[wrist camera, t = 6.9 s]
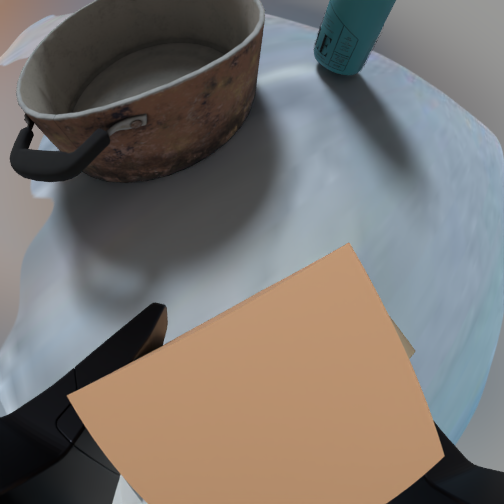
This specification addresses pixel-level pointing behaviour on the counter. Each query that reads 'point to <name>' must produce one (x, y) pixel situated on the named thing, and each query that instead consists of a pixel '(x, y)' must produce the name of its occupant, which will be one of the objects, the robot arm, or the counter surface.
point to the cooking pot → (138, 87)
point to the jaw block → (272, 401)
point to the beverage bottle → (350, 33)
